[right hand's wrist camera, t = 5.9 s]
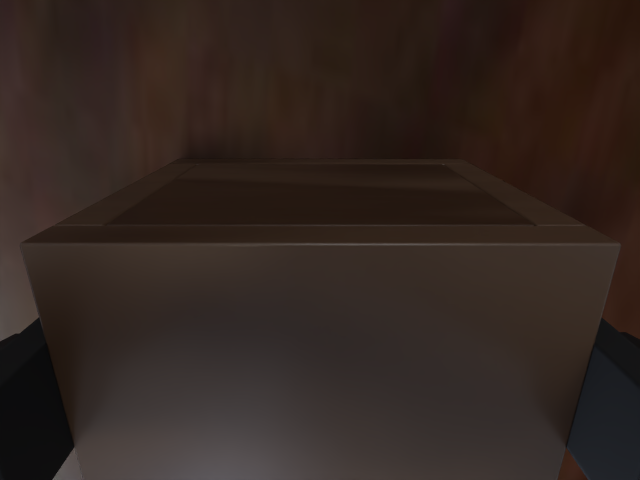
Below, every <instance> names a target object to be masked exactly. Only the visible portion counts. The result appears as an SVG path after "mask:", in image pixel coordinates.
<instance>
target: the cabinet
mask: <svg viewBox="0 0 640 480" xmlns="http://www.w3.org/2000/svg"><path fill="white" fill-rule="evenodd" d="M620 247H621V244H620V243H619V242H617V241H615V240H613V239H611V238H609V237H608V236H606V235H604V234H602V233H600V232H598V231H596V230H594V229H592V228H591V227H589V226H586V225H585V224H583V223H581V222H579V221H577V220H575V219H574V218H572V217H570V216H568V215H566V214H564V213H562V212H560V211H559V210H557V209H555V208H553V207H551V206H549V205H547V204H545V203H544V202H542V201H540V200H538V199H536V198H534V197H532V196H530V195H529V194H527V193H525V192H523V191H521V190H519V189H517V188H515V187H513V186H512V185H510V184H508V183H506V182H504V181H502V180H500V179H498V178H497V177H495V176H493V175H491V174H489V173H487V172H485V171H483V170H482V169H480V168H478V167H476V166H474V165H472V164H470V163H468V162H467V161H465V160H463V159H178V160H176V161H174V162H172V163H170V164H168V165H166V166H165V167H163V168H161V169H159V170H157V171H155V172H153V173H151V174H150V175H148V176H146V177H144V178H142V179H140V180H138V181H136V182H135V183H133V184H131V185H129V186H127V187H125V188H123V189H121V190H119V191H118V192H116V193H114V194H112V195H110V196H108V197H106V198H104V199H103V200H101V201H99V202H97V203H95V204H93V205H91V206H89V207H88V208H86V209H84V210H82V211H80V212H78V213H76V214H74V215H73V216H71V217H69V218H67V219H65V220H63V221H61V222H59V223H57V224H56V225H55V226H52V227H50V228H48V229H46V230H44V231H42V232H40V233H38V234H37V235H35V236H33V237H31V238H29V239H27V240H25V241H23V242H21V243H20V248H21V252H22V256H23V259H24V263H25V267H26V270H27V274H28V278H29V281H30V285H31V289H32V292H33V296H34V300H35V303H36V307H37V311H38V314H39V318H40V322H41V326H42V329H43V333H44V337H45V340H46V344H47V348H48V351H49V355H50V359H51V362H52V366H53V370H54V373H55V377H56V381H57V384H58V388H59V392H60V395H61V399H62V403H63V406H64V410H65V414H66V418H67V421H68V425H69V429H70V432H71V436H72V440H73V443H74V447H75V451H76V454H77V458H78V462H79V465H80V469H81V473H82V476H83V480H557V478H558V475H559V471H560V467H561V464H562V460H563V456H564V453H565V449H566V445H567V442H568V438H569V434H570V431H571V427H572V423H573V420H574V416H575V412H576V409H577V405H578V401H579V398H580V394H581V390H582V387H583V383H584V379H585V376H586V372H587V368H588V365H589V361H590V357H591V354H592V350H593V346H594V343H595V339H596V335H597V332H598V328H599V324H600V321H601V317H602V313H603V310H604V306H605V302H606V299H607V295H608V291H609V288H610V284H611V280H612V277H613V273H614V269H615V266H616V262H617V258H618V255H619V251H620Z"/></svg>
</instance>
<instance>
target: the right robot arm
mask: <svg viewBox="0 0 640 480" xmlns="http://www.w3.org/2000/svg"><path fill="white" fill-rule="evenodd" d="M73 448H74V443H73V440H72V436H71V432H70V429H69V425H68V421H67V418H66V414H65V410H64V406H63V403H62V399H61V395H60V392H59V388H58V384H57V381H56V377H55V373H54V370H53V366H52V362H51V359H50V355H49V351H48V348H47V344H46V340H45V337H44V333H43V329H42V326H41V322H40V318H38V319H37V320H35V321H34V322H33V323H32V324H31V325H29V326H28V327H27V328H26V329H25V330H23V331H22V332H21V333H20V334H14V335H12V336H10V337H8V338H6V339H4V340H2V341H0V480H52V479H53V478H54V476H55V475H56V473H57V472H58V470H59V469H60V467H61V466H62V464H63V463H64V461H65V460H66V458H67V457H68V456H69V454H70V453H71V451H72V450H73ZM566 448H567V449H568V450H569V452H570V453H571V455H572V456H573V458H574V459H575V461H576V462H577V464H578V465H579V467H580V468H581V470H582V471H583V473H584V474H585V476H586V477H587V478H588V480H640V339H638V338H636V337H634V336H632V335H630V334H628V333H626V332H618V331H617V330H616V329H615V328H614V327H612V326H611V325H610V324H609V323H608V322H606V321H605V320H604V319H603V318H601V321H600V324H599V328H598V332H597V335H596V339H595V343H594V346H593V350H592V354H591V357H590V361H589V365H588V368H587V372H586V376H585V379H584V383H583V387H582V390H581V394H580V398H579V401H578V405H577V409H576V412H575V416H574V420H573V423H572V427H571V431H570V434H569V438H568V442H567V445H566Z"/></svg>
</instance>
